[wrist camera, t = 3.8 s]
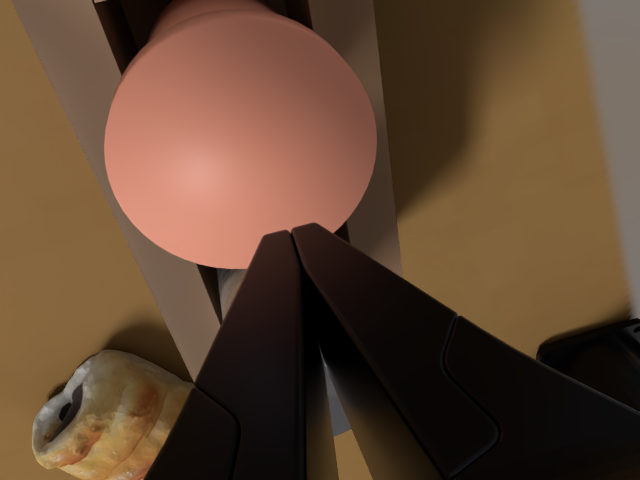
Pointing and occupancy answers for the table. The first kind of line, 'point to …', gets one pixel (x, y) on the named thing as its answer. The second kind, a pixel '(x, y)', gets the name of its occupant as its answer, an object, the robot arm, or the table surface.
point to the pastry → (109, 418)
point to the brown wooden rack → (93, 110)
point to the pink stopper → (236, 131)
